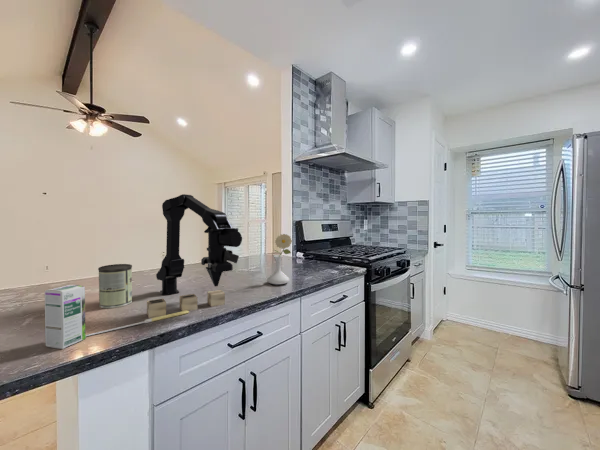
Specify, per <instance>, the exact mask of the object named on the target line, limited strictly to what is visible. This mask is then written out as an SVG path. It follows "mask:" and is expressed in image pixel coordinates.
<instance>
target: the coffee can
mask: <svg viewBox="0 0 600 450" xmlns="http://www.w3.org/2000/svg"><path fill="white" fill-rule="evenodd" d="M132 269H133V265H132V264H130V263H129V264H127V263H117V264H116V263H115V264H108V265H101V266H100V267H99V266H98V269H97V270H98V296H99V297H98V301H99V305H98V307H99V308H100V307H101V309H116V308H121V307H125V306H127V305H130V304H132V302H133V287H132V286H133V277H132V276H133V273H132Z"/></svg>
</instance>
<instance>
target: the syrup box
mask: <svg viewBox="0 0 600 450" xmlns="http://www.w3.org/2000/svg"><path fill="white" fill-rule="evenodd" d="M44 321H45V322H44V325H45V328H44V329H45V330H44V331H45V336H44V337H45V346H46V347H48V348H52V349H58V350H64V349H66V348H67V347H70V346H72V345H75V344H77V343H79V342H82V341H84V340H86V337H87V336H86V335H87V334H86V287H85V286H84V285H79V284H67V285H63V286H61V287H60V286H58V287H55V288H51V289H50V288H49V289H46V290H44Z"/></svg>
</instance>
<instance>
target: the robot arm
mask: <svg viewBox="0 0 600 450" xmlns="http://www.w3.org/2000/svg"><path fill="white" fill-rule="evenodd" d="M161 208H162V215H163V217H164V218H165V220H166V252H165V253H166V254H165V256H164V258H162V259H163V260H162V261H161V266H160V269H159V270H158V272H157V273H156V274H155V276H156V280H158V281H161V290H160V291H159V292H160V294H161V295H162V296H167V295H174V294H179V293H180V291H179V290H178V282H177V281H178V278H182V276H183V272H184V269H185V259H184V258H182V256H180V243H181V242H180V236H181V235H180V233H181V220H182V219H183V217H184V216H185V212H186V210H190V211H192V212H194V213H195V214H196V215H197V216H199V217H200V218H202V219H201V220H202V222H203V224H205V225H206V226H207V228H206V229H205V230H204V232H203V233H204V234H208V236H207V237H208V239H207V240H208V241H207V244H208V245H207V247H206V251H207V252H208V253H207V256H204V257H202V258H201V262H200V263H201V264H200V265H202V266H205V265H207V266H206V267H205V270H206V271H207V273H208V275H209V278H210V279H211V282H212V285H213V286H214V287H216V288H217V287H218V286H219V283H220V280H221V277H222V274H223V273H224V272H231V271H233V270H234V269H233V268H234V267H233V264H232V263H234V264H237V263H238V261H239V257H240V255H237V254H235V253H233V250H229V249H227V247H229V248H230V247H231V248H232V247H233V248H238V247H239V246H240V245H241V244H242V241H243V236H242V234H241V232H240V231H239V228H238V227H235V228H234V227H232V225H231V222H230V221H229V218H228V216H227V214H226V213H225V212H223V211H220V210H217V209H213V208H211V207H209V206H207V205H206V204H205V203H203V202H201V201H200V200H198V199H196V198H195V197H194V195H192V194H185V193H184V194H180V195H178V196H175V197H171V198H169V199H166V200H164V201H163V203H162V205H161ZM231 262H232V263H231Z"/></svg>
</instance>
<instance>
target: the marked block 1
mask: <svg viewBox="0 0 600 450" xmlns="http://www.w3.org/2000/svg"><path fill="white" fill-rule="evenodd" d="M146 314H147V317H148V319H151V318H155V317H160V316H164V315H167V301H166V299H165V298H158V299H151V300H147V301H146Z"/></svg>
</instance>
